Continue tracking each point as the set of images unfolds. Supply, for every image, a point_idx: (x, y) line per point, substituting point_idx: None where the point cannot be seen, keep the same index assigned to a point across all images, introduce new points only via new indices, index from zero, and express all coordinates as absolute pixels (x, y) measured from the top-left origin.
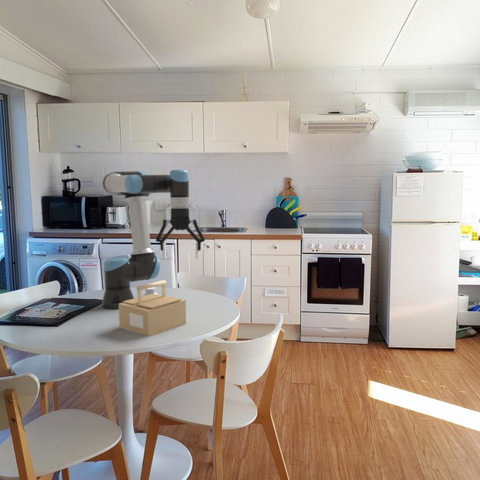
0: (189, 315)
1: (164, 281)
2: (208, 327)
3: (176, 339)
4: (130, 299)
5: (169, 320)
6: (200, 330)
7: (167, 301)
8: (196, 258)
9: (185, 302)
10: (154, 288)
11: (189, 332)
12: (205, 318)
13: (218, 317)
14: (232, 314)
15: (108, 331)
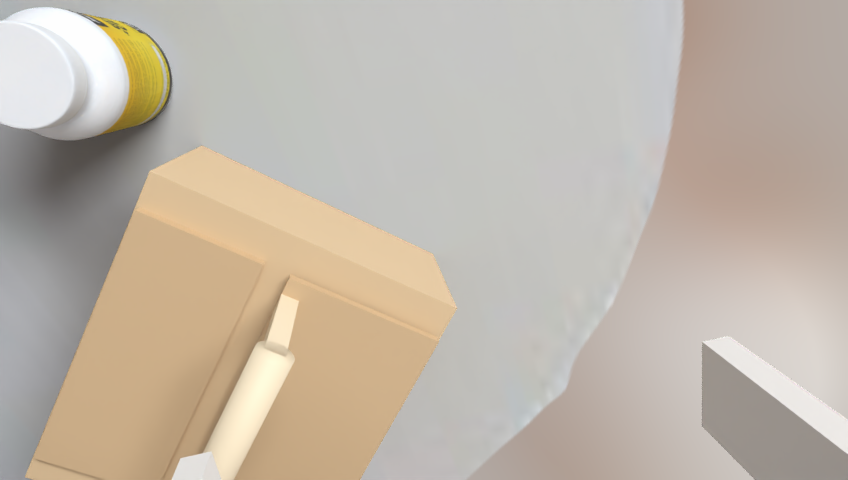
0: (403, 90)
1: (282, 380)
2: (561, 288)
3: (455, 462)
4: (57, 404)
5: None
6: (531, 337)
7: (365, 417)
8: (713, 427)
9: (453, 303)
10: (71, 92)
11: (487, 373)
12: (515, 138)
13: (587, 106)
14: (663, 27)
15: None
